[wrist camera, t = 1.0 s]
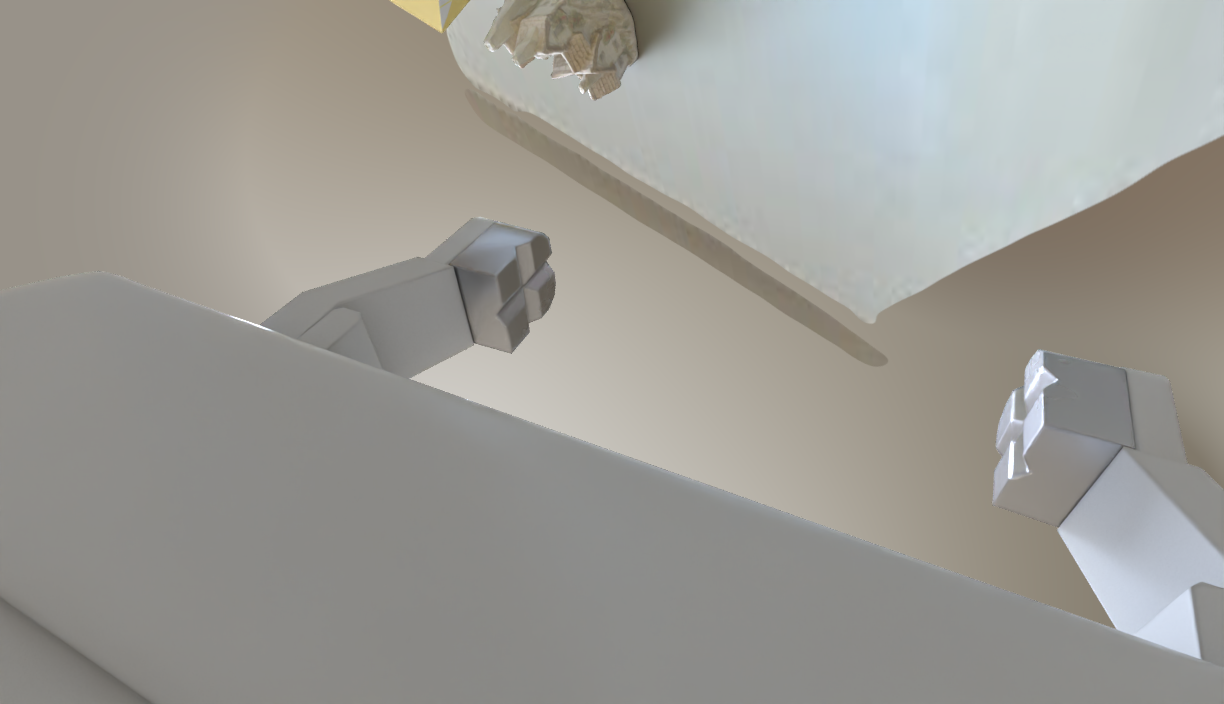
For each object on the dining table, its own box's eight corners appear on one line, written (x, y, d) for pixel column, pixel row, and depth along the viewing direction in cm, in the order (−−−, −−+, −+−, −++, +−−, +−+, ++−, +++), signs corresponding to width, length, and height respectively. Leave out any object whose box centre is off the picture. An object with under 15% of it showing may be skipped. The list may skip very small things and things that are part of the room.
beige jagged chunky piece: (500, -53, 77) (438, 40, 74) (614, -53, 70) (550, 51, 66) (554, 51, 90) (503, 134, 87) (654, 61, 83) (602, 152, 79)
